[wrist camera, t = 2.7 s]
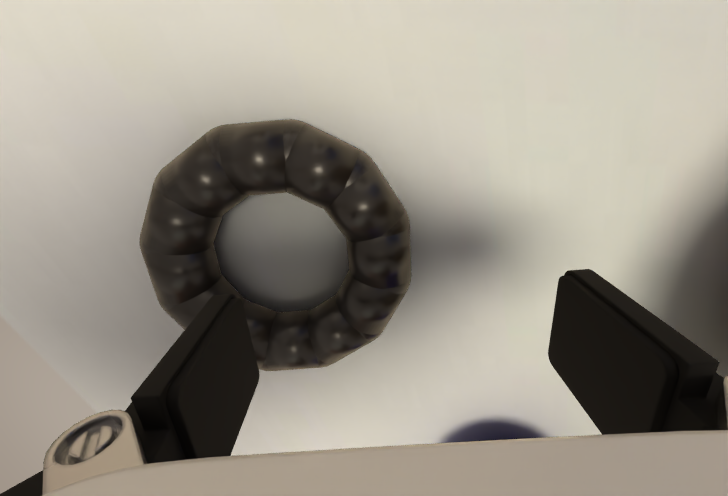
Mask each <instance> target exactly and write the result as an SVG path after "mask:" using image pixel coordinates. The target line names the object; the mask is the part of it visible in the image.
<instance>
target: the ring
mask: <svg viewBox="0 0 728 496" xmlns="http://www.w3.org/2000/svg"><path fill="white" fill-rule="evenodd" d="M285 192H287V193H290V194H292V195H294V196H296V197H299V198H301V199H303V200H305V201H307V202H310V203H312V204H314V205H316V206H319V207H321V208H323V209H324V210H325V211H326V212H327V214H328V215H329V216H330V218H331V219H332V220H333V221H334V223H335V224H336V225H337V227H338V228H339V229H340V231H341V232H342V233H343V235H344V236H345V237H346V241H347V250H348V260H349V271H348V273H347V275H346V277H345V279H344V280H343V282H342V284H341V286H340V288H339V290H338V292H337V294H336V295H334V296H333V297H331V298H329V299H328V300H326V301H324V302H323V303H321V304H320V305H318V306H316V307H315V308H313V309H312V310H301V311H287V312H276V311H273V310H271V309H268V308H266V307H263V306H261V305H258V304H255V303H253V302H250V301H248V300H245V299H244V298H243V297H242V296H241V295H240V294H239V293H238V292H237V290H236V289H235V288H234V287H233V286H232V285H231V284H230V283H229V282H228V281H227V280H226V279H225V278H224V277H223V276H222V274H221V271H220V267H219V264H218V260H217V256H216V252H215V248H214V244H213V242H214V240H215V237H216V234H217V231H218V228H219V225H220V222H221V219H222V216H223V214H225V213H226V212H227V211H229V210H230V209H231V208H233V207H234V206H235V205H237V204H238V203H240V202H241V201H242V200H244V199H245V198H246V197H248V196H249V195H260V194H272V193H285ZM140 249H141V252H142V255H143V258H144V261H145V264H146V267H147V269H148V272H149V275H150V278H151V281H152V284H153V287H154V290H155V293H156V296H157V299H158V301H159V303H160V305H161V307H162V308H163V309H164V310H165V311H166V312H167V313H168V314H169V315H170V316H171V317H172V318H173V319H174V320H175V321H176V322H177V323H178V324H179V325H181V326H182V327H183V328H184V329H186V328H187V327H188V326H189V324H190V323H191V322H192V321H193V319H194V318H195V317H196V316H197V314H198V313H199V312H200V311H201V309H202V308H203V307H204V306H205V304H206V303H207V302H208V301H209V299H210V298H211V297H212V296H213V295H224V294H234V295H235V296H236V298H240V299H241V300H242V302H243V305H244V310H245V314H246V318H247V322H248V326H249V331H250V335H251V339H252V343H253V348H254V352H255V356H256V360H257V364H258V369H261V370H265V371H279V370H293V369H307V368H321V367H326V366H329V365H331V364H333V363H335V362H337V361H338V360H340V359H342V358H344V357H345V356H347V355H349V354H351V353H352V352H354V351H356V350H358V349H359V348H361V347H363V346H365V345H366V344H368V343H370V342H372V341H373V340H375V339H376V338H377V337H378V336H379V335H380V334H381V333H382V332H383V330H384V329H385V327H386V325H387V324H388V322H389V320H390V319H391V317H392V315H393V313H394V312H395V310H396V308H397V307H398V305H399V303H400V302H401V300H402V298H403V297H404V295H405V293H406V292H407V290H408V288H409V285H410V281H411V248H410V223H409V217H408V214H407V212H406V210H405V208H404V207H403V205H402V204H401V202H400V201H399V199H398V198H397V196H396V195H395V193H394V192H393V190H392V189H391V187H390V186H389V184H388V183H387V181H386V180H385V178H384V176H383V175H382V173H381V172H380V170H379V169H378V167H377V166H376V164H375V163H374V162H373V160H372V159H371V158H370V157H369V156H368V155H367V154H366V153H364V152H363V151H361V150H360V149H357V148H355V147H353V146H351V145H349V144H347V143H345V142H343V141H341V140H339V139H337V138H335V137H333V136H331V135H329V134H327V133H325V132H323V131H321V130H319V129H317V128H315V127H313V126H311V125H309V124H307V123H304V122H301V121H298V120H292V119H290V120H275V121H263V122H251V123H239V124H227V125H221V126H218V127H215V128H213V129H211V130H210V131H209V132H207V133H206V134H205V135H203V136H202V137H201V138H200V139H198V140H197V141H196V142H195V143H193V144H192V145H191V146H190V147H189V148H187V149H186V150H185V151H184V152H182V153H181V154H180V155H179V156H177V157H176V158H175V159H174V160H173V161H171V162H170V163H169V164H168V165H166V166H165V167H164V168H163V169H162V170H161V171H160V172H159V173H158V175H157V177H156V178H155V181H154V183H153V187H152V191H151V195H150V199H149V203H148V207H147V211H146V215H145V218H144V222H143V226H142V230H141V234H140Z"/></svg>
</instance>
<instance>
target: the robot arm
mask: <svg viewBox="0 0 728 496" xmlns="http://www.w3.org/2000/svg"><path fill="white" fill-rule="evenodd" d="M548 355H549V360H550V362H551V364H552V366H553V367H554V369H555V370H556V371H557V373H558V374H559V376H560V377H561V378H562V380H563V381H564V382H565V384H566V385H567V387H568V388H569V389H570V391H571V392H572V393H573V395H574V396H575V398H576V399H577V400H578V402H579V403H580V404H581V406H582V407H583V409H584V410H585V411H586V413H587V414H588V415H589V417H590V418H591V420H592V421H593V422H594V424H595V425H596V426H597V428H598V429H599V431H600V432H601V433H602V435H588V436H568V437H548V438H528V439H508V440H490V441H471V442H453V443H435V444H417V445H400V446H382V447H365V448H349V449H333V450H317V451H301V452H285V453H268V454H253V455H237V456H230V455H231V452H232V449H233V447H234V444H235V442H236V439H237V436H238V434H239V431H240V429H241V426H242V423H243V421H244V418H245V415H246V413H247V410H248V408H249V405H250V402H251V400H252V397H253V395H254V392H255V389H256V387H257V384H258V381H259V369H258V364H257V360H256V356H255V352H254V348H253V343H252V339H251V335H250V331H249V326H248V322H247V318H246V314H245V310H244V305H243V302H242V300H241V299H240V298H236V296H235V295H234V294H224V295H213V296H212V297H211V298H210V299H209V301H208V302H207V303H206V304H205V306H204V307H203V308H202V309H201V311H200V312H199V313H198V314H197V316H196V317H195V318H194V319H193V321H192V322H191V323H190V324H189V326H188V327H187V328H186V329H185V331H184V332H183V333H182V334H181V336H180V337H179V338H178V339H177V341H176V342H175V343H174V344H173V346H172V347H171V348H170V349H169V351H168V352H167V353H166V354H165V356H164V357H163V358H162V359H161V361H160V362H159V363H158V364H157V366H156V367H155V368H154V369H153V371H152V372H151V373H150V374H149V376H148V377H147V378H146V379H145V381H144V382H143V383H142V384H141V386H140V387H139V388H138V389H137V391H136V392H135V393H134V394H133V396H132V397H131V400H132V403H131V404H130V405H129V407H128V408H127V409H126V410H125V411H122V410H108V411H104V412H100V413H97V414H94V415H92V416H89V417H87V418H85V419H83V420H82V421H80V422H78V423H76V424H74V425H73V426H72V427H70V428H69V429H68V430H66V431H65V432H63V433H62V434H61V435H60V436H59V437H58V438H57V439H56V440H55V441H54V442H53V443H52V445H51V446H50V448H49V449H48V451H47V452H46V455H45V459H44V462H43V464H44V465H43V471H41V472H39V473H37V474H35V475H34V476H32V477H30V478H28V479H26V480H25V481H23V482H21V483H19V484H18V485H16V486H14V487H12V488H10V489H9V490H7V491H5V492H3V493H1V494H0V496H728V375H727V376H726V377H725V378H723V377H721V376H720V375H719V374H717V373H716V370H717V367H718V364H719V361H718V360H716V359H715V358H713V357H712V356H711V355H709V354H708V353H706V352H705V351H704V350H702V349H701V348H699V347H698V346H697V345H695V344H694V343H692V342H691V341H690V340H688V339H687V338H686V337H684V336H683V335H681V334H680V333H679V332H677V331H676V330H674V329H673V328H672V327H670V326H669V325H667V324H666V323H665V322H663V321H662V320H660V319H659V318H658V317H656V316H655V315H654V314H652V313H651V312H649V311H648V310H647V309H645V308H644V307H642V306H641V305H640V304H638V303H637V302H635V301H634V300H633V299H631V298H630V297H628V296H627V295H626V294H624V293H623V292H621V291H620V290H619V289H617V288H616V287H615V286H613V285H612V284H610V283H609V282H608V281H606V280H605V279H603V278H602V277H601V276H599V275H598V274H596V273H595V272H594V271H592V270H590V269H585V270H571V271H567V272H566V273H565V275H564V276H561V277H560V278H559V281H558V288H557V295H556V302H555V309H554V316H553V323H552V330H551V336H550V343H549V350H548Z"/></svg>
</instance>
